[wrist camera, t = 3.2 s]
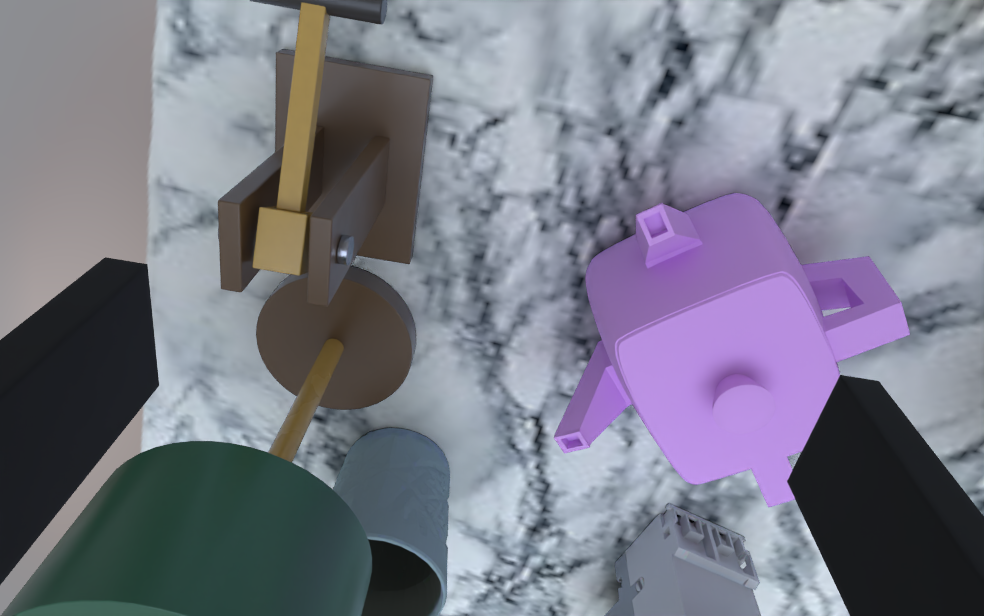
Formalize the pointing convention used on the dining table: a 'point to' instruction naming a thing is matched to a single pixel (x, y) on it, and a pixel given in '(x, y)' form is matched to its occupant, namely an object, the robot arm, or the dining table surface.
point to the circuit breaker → (685, 570)
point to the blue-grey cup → (400, 519)
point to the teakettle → (723, 340)
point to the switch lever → (302, 133)
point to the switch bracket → (340, 175)
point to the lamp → (241, 488)
